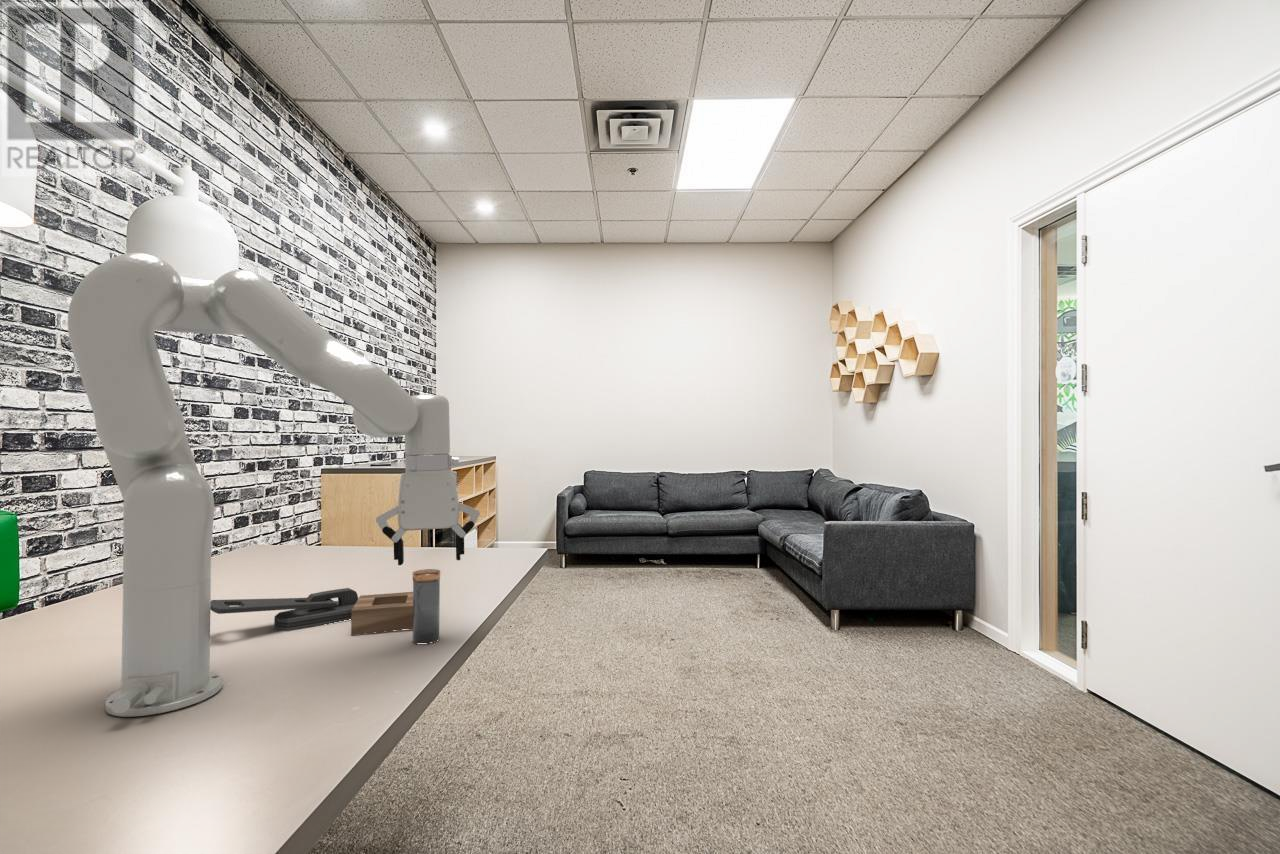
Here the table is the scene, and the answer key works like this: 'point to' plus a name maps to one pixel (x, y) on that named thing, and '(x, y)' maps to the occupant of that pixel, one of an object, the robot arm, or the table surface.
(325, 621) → the zipper pull
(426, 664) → the table surface
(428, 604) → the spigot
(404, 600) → the socket block
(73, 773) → the table surface
